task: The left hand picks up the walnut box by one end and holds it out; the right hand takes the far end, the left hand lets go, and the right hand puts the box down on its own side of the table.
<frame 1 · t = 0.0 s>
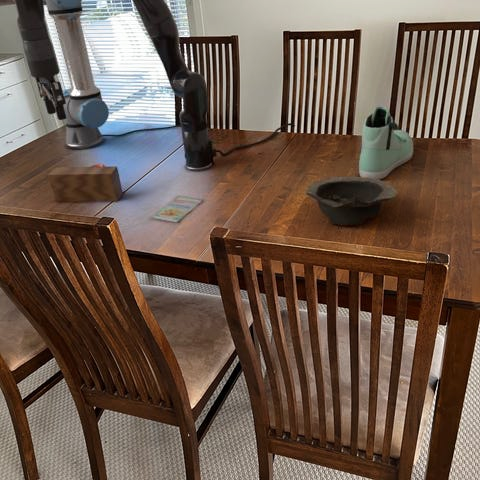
right hand: (57, 116, 137), 29 cm above the table, tool pointing down, fingers open, 8 cm apart
box: (89, 197, 158), on the table
baking ingredient package: (177, 209, 146), on the table
candy cane: (89, 175, 174), on the table
sneaker: (385, 162, 166), on the table
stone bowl: (348, 211, 137), on the table
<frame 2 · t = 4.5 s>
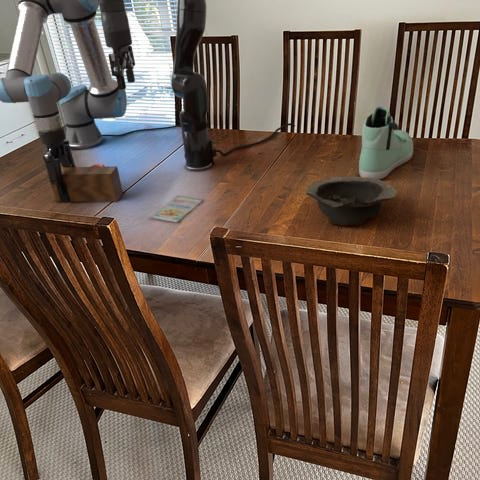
left hand: (69, 196, 159), 0 cm above the table, tool pointing down, fingers closed on box, 6 cm apart
right hand: (127, 85, 146), 33 cm above the table, tool pointing down, fingers open, 8 cm apart
box: (89, 197, 158), on the table, touching left hand
everything else where it was.
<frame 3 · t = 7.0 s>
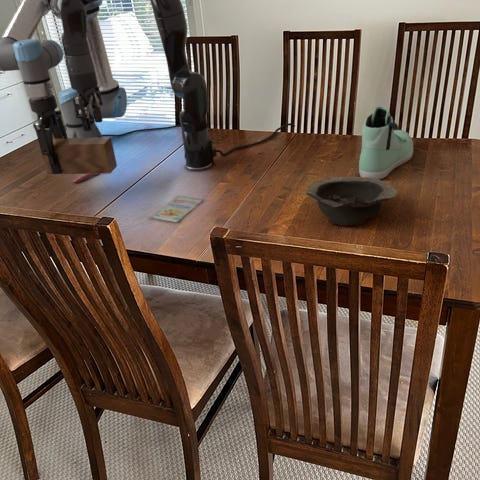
left hand: (61, 169, 154), 10 cm above the table, tool pointing down, fingers closed on box, 6 cm apart
right hand: (93, 126, 144), 24 cm above the table, tool pointing down, fingers open, 8 cm apart
box: (82, 170, 153), point 10 cm above the table, touching left hand
everything else where it was.
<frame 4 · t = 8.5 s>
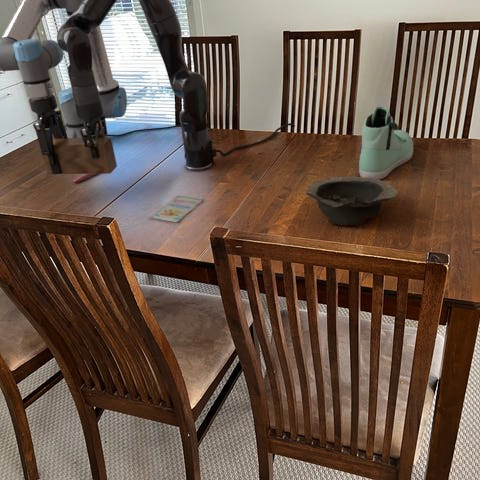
left hand: (61, 169, 154), 10 cm above the table, tool pointing down, fingers closed on box, 6 cm apart
right hand: (100, 154, 149), 15 cm above the table, tool pointing down, fingers closed on box, 5 cm apart
box: (82, 170, 153), point 10 cm above the table, touching left hand, right hand
everything else where it was.
when the left hand's fingers open (10 cm above the table, at t = 9.4 s): box stays where it is, held by the right hand.
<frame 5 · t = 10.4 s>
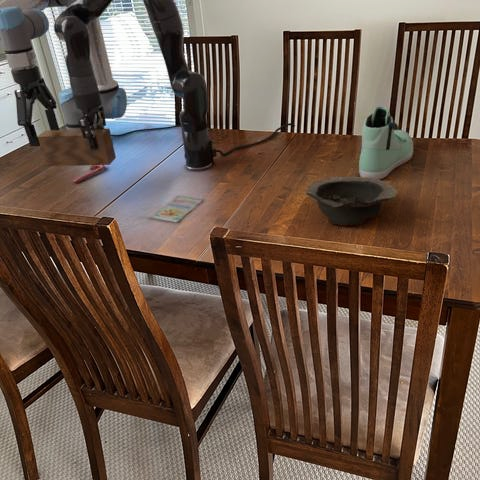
left hand: (45, 137, 149), 21 cm above the table, tool pointing down, fingers open, 13 cm apart
right hand: (98, 145, 148), 18 cm above the table, tool pointing down, fingers closed on box, 6 cm apart
box: (81, 161, 151), point 12 cm above the table, touching right hand
everything else where it was.
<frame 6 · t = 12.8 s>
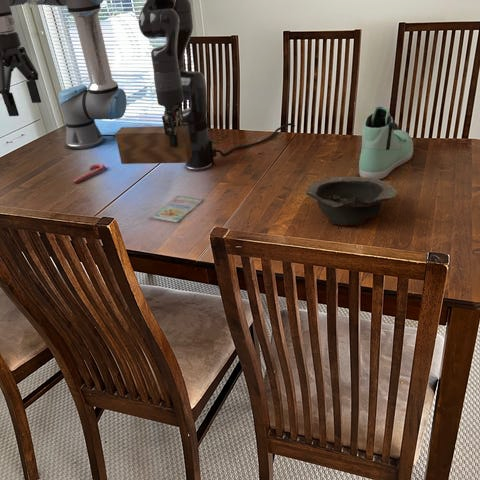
left hand: (25, 109, 144), 30 cm above the table, tool pointing down, fingers open, 13 cm apart
right hand: (176, 142, 144), 18 cm above the table, tool pointing down, fingers closed on box, 6 cm apart
box: (157, 159, 148), point 13 cm above the table, touching right hand
everything else where it was.
when the right hand's fingers open (6 cm above the table, at t = 17.3 s): box stays where it is, on the table.
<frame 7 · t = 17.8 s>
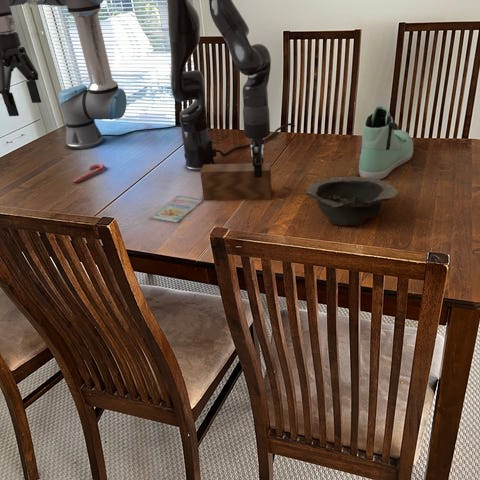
left hand: (25, 109, 144), 30 cm above the table, tool pointing down, fingers open, 13 cm apart
right hand: (259, 171, 147), 8 cm above the table, tool pointing down, fingers open, 8 cm apart
box: (237, 195, 151), on the table
everything else where it was.
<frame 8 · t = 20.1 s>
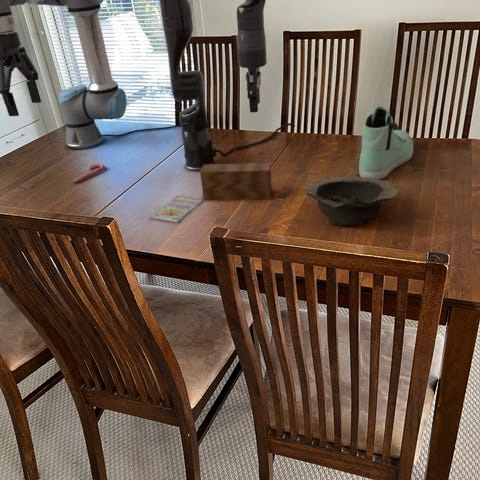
left hand: (25, 109, 144), 30 cm above the table, tool pointing down, fingers open, 13 cm apart
right hand: (255, 107, 136), 28 cm above the table, tool pointing down, fingers open, 8 cm apart
nothing on the table moved.
at the end: box inside the target area (6.9 cm from its centre), on the table; the left hand is holding nothing; the right hand is holding nothing; box at rest at the end (0.0 cm/s) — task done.
